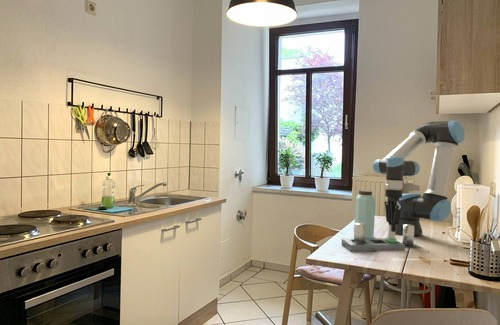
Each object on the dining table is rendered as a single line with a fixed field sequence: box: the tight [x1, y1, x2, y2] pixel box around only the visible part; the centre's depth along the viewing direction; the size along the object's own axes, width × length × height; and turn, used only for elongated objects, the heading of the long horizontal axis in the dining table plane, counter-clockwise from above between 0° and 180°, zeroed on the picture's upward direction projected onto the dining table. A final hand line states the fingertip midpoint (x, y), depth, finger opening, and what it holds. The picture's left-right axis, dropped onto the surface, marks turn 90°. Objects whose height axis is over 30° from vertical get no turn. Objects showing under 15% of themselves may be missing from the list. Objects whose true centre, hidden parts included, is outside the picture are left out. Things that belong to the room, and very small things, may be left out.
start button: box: [387, 236, 397, 243], centre depth 175 cm, size 4×4×2 cm
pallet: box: [341, 237, 406, 253], centre depth 174 cm, size 26×12×3 cm, turn 96°
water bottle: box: [354, 189, 376, 238], centre depth 192 cm, size 10×10×25 cm
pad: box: [405, 243, 423, 249], centre depth 178 cm, size 10×10×1 cm
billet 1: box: [353, 222, 365, 244], centre depth 173 cm, size 5×5×10 cm
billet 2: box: [401, 224, 415, 247], centre depth 177 cm, size 5×5×10 cm
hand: (391, 237), depth 174 cm, fingers closed
